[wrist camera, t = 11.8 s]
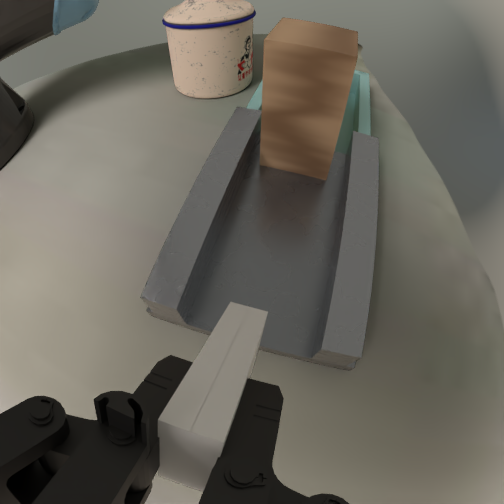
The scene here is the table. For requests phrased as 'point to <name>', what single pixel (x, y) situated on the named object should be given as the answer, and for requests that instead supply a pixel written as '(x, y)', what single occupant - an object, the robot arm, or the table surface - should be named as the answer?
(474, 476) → the table surface
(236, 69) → the teacup with lid
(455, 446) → the table surface
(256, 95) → the tray
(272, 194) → the slot board
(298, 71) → the block
